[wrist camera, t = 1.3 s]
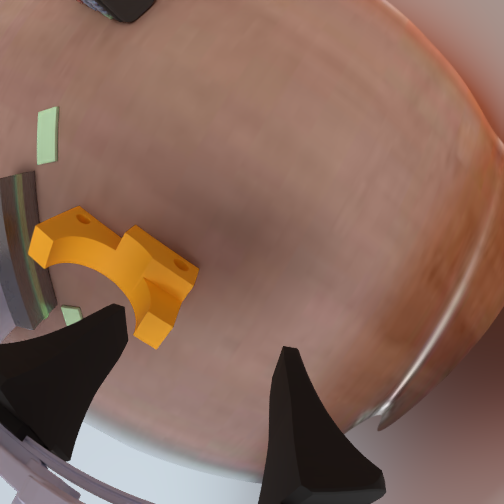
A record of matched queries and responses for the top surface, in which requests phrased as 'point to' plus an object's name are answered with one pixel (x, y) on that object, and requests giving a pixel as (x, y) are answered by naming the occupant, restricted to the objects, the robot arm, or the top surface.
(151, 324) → the pipe clamp
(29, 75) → the top surface
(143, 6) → the black upright block
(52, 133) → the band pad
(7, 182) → the curved gray arc panel
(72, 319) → the plate
